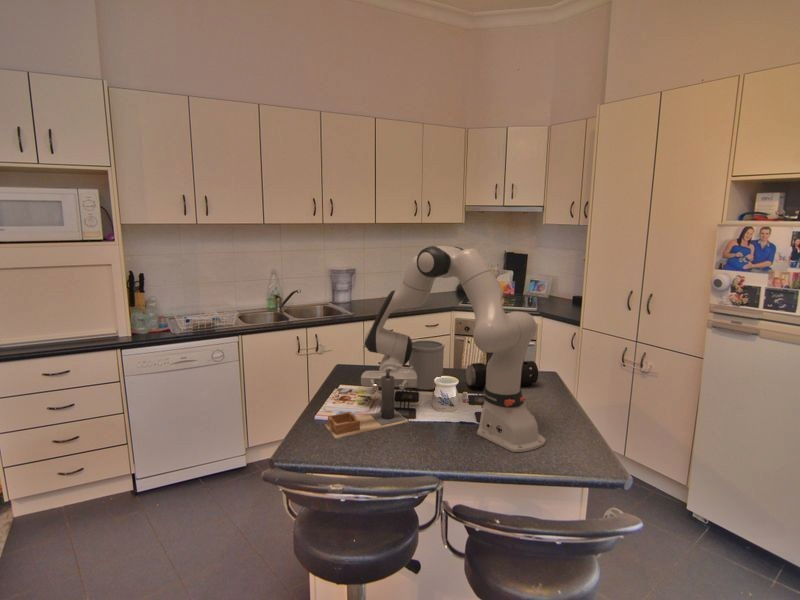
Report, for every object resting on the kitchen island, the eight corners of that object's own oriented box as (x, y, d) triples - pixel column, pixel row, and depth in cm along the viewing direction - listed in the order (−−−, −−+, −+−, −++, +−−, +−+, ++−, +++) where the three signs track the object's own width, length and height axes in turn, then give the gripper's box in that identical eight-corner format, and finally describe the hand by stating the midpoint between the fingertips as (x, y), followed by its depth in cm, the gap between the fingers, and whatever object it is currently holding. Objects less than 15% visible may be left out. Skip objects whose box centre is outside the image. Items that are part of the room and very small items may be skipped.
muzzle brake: (537, 388, 191) (539, 364, 189) (471, 392, 187) (472, 368, 185) (527, 380, 200) (529, 357, 198) (464, 384, 196) (465, 360, 194)
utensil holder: (408, 377, 203) (408, 338, 200) (442, 377, 202) (443, 338, 199) (406, 390, 189) (407, 348, 185) (444, 391, 188) (445, 349, 184)
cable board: (408, 425, 158) (409, 413, 157) (335, 443, 146) (335, 429, 145) (394, 413, 168) (394, 401, 167) (324, 428, 156) (323, 415, 155)
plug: (396, 417, 160) (396, 370, 156) (384, 420, 158) (384, 372, 154) (390, 412, 163) (390, 366, 160) (379, 415, 161) (379, 368, 158)
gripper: (362, 364, 175) (357, 378, 161) (417, 366, 174) (417, 379, 161) (362, 380, 176) (358, 395, 163) (417, 382, 176) (417, 396, 162)
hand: (388, 387), depth 162 cm, fingers open, 8 cm apart
